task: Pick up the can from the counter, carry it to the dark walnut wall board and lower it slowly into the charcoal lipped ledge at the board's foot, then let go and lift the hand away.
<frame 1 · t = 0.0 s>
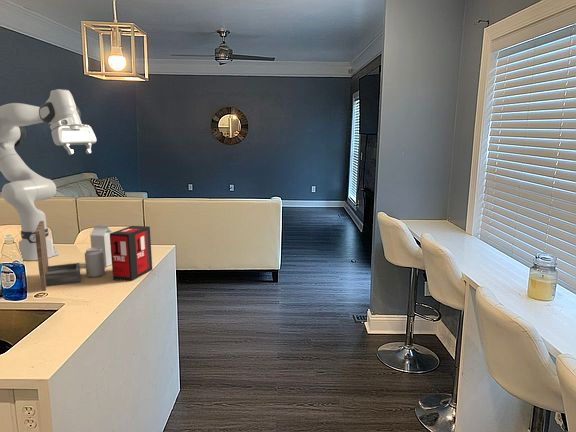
hand: (80, 153, 205), 52 cm above the table, tool tilted 20°, fingers open, 8 cm apart
can: (96, 275, 200), on the table
cleaning product box: (133, 274, 201), on the table
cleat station: (62, 280, 194), on the table
milk carton: (104, 265, 216), on the table
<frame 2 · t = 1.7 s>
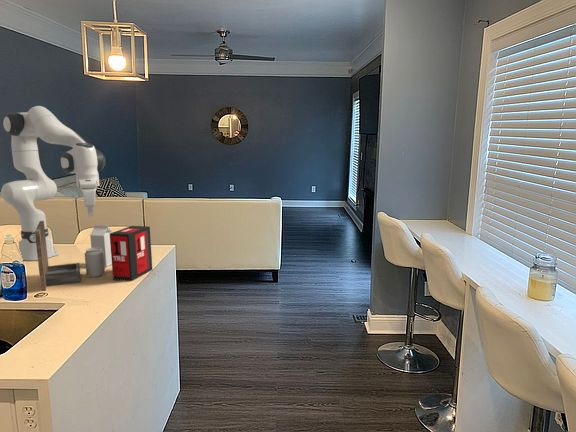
hand: (90, 214, 195), 27 cm above the table, tool pointing down, fingers open, 8 cm apart
nothing on the table moved.
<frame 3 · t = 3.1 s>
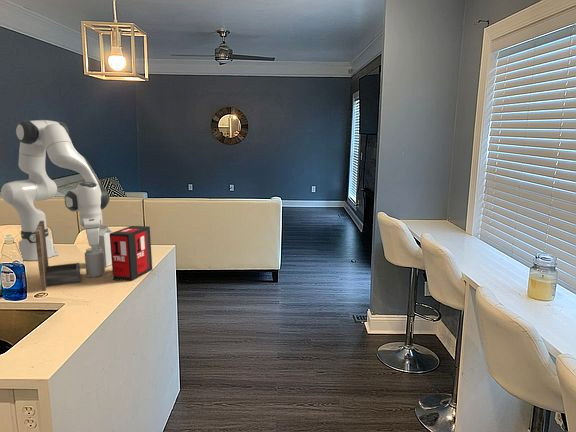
hand: (94, 251, 198), 11 cm above the table, tool pointing down, fingers open, 8 cm apart
can: (96, 275, 200), on the table, touching gripper
everything else where it was.
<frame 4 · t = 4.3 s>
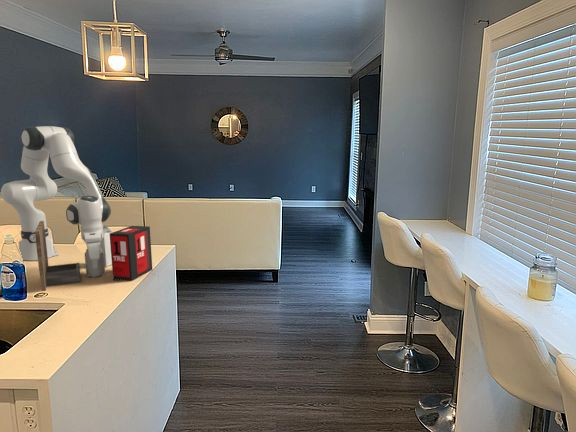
hand: (95, 265, 199), 5 cm above the table, tool pointing down, fingers closed on can, 7 cm apart
can: (96, 275, 200), on the table, touching gripper
everything else where it was.
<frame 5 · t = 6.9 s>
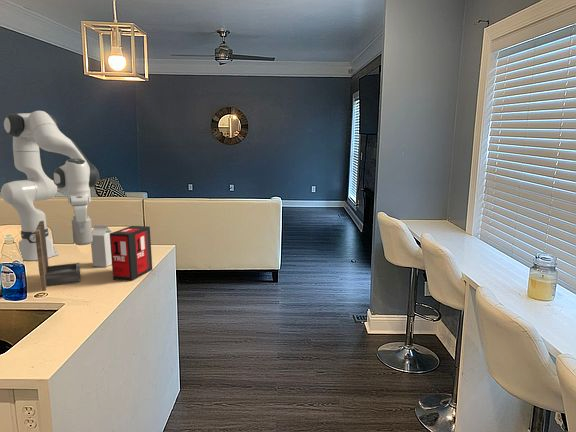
hand: (82, 230, 195), 21 cm above the table, tool pointing down, fingers closed on can, 7 cm apart
can: (83, 244, 196), point 14 cm above the table, touching gripper
everything else where it was.
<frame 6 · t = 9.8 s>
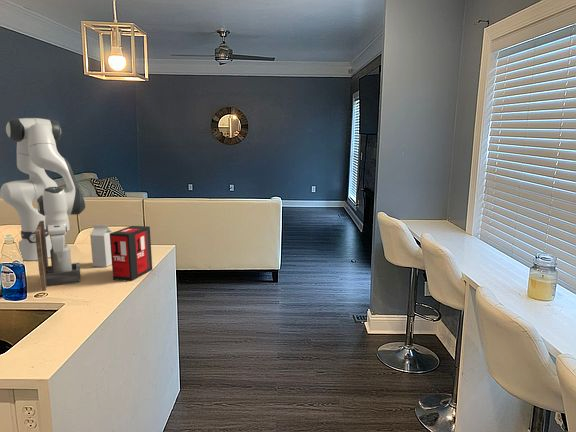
hand: (60, 258, 193), 9 cm above the table, tool pointing down, fingers closed on can, 7 cm apart
can: (62, 273, 194), point 3 cm above the table, touching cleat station, gripper
everything else where it was.
when the fingers open (9 cm above the table, at t = 10.8 s): can stays where it is, resting on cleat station.
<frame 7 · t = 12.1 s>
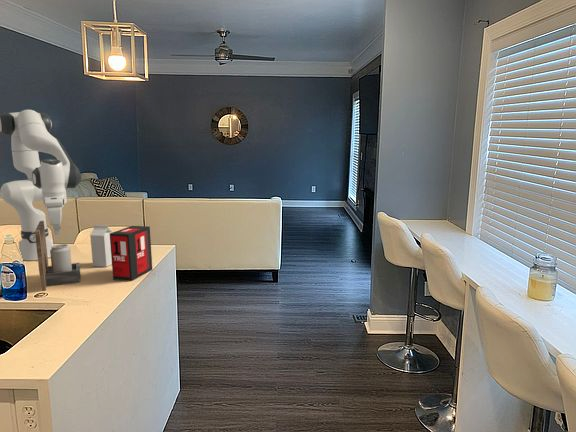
hand: (57, 232, 191), 21 cm above the table, tool pointing down, fingers open, 8 cm apart
can: (62, 273, 194), point 3 cm above the table, touching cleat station
everything else where it was.
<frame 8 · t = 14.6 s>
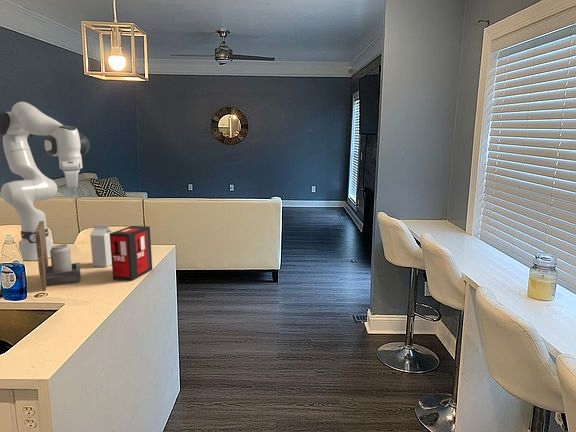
hand: (73, 196, 198), 34 cm above the table, tool pointing down, fingers open, 8 cm apart
nothing on the table moved.
at the end: can inside the target area on the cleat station (0.1 cm from its centre), point 2.8 cm above the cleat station's base; can tilted 0°; the gripper is holding nothing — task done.
